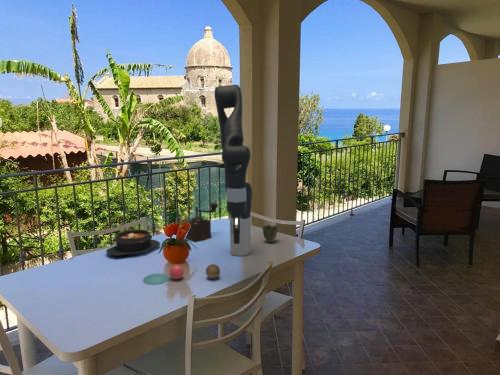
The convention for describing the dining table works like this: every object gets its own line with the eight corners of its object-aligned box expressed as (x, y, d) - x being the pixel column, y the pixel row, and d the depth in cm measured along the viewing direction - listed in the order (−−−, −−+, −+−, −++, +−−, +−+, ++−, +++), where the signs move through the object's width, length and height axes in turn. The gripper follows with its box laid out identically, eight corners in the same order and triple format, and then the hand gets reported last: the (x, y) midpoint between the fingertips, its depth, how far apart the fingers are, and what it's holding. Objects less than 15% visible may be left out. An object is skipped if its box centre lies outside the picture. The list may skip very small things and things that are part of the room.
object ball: (171, 276, 152) (170, 262, 151) (185, 275, 152) (184, 262, 151) (168, 281, 147) (168, 268, 146) (183, 281, 147) (182, 268, 146)
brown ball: (206, 275, 153) (206, 262, 152) (220, 275, 153) (220, 262, 152) (205, 281, 147) (205, 267, 146) (219, 280, 147) (219, 267, 146)
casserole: (117, 263, 166) (115, 244, 164) (100, 252, 179) (98, 235, 178) (167, 249, 183) (167, 232, 181) (148, 240, 196) (148, 224, 195)
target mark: (146, 274, 154) (146, 273, 154) (171, 273, 154) (171, 273, 154) (140, 284, 144) (140, 284, 144) (167, 284, 144) (166, 283, 144)
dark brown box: (195, 242, 193) (194, 207, 189) (183, 237, 200) (182, 204, 197) (220, 236, 203) (219, 202, 200) (207, 231, 211) (206, 199, 208)
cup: (279, 240, 195) (279, 225, 193) (274, 245, 188) (274, 229, 187) (265, 238, 198) (266, 223, 196) (260, 243, 191) (260, 227, 190)
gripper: (226, 195, 151) (227, 238, 154) (225, 203, 138) (226, 249, 141) (246, 195, 151) (246, 237, 154) (246, 202, 138) (246, 248, 141)
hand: (236, 243), depth 148 cm, fingers closed
